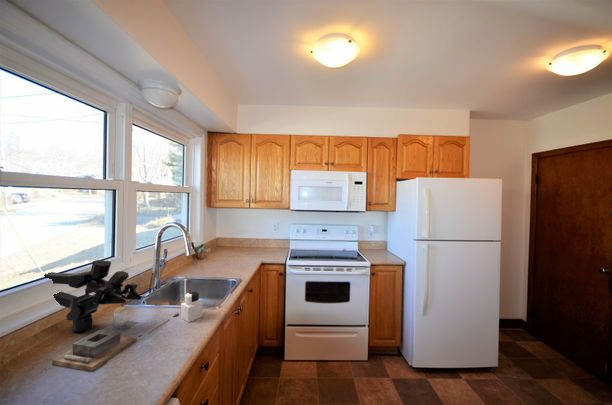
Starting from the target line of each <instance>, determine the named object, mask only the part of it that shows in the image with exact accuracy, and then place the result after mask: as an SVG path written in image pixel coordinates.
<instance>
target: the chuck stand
mask: <svg viewBox="0 0 612 405" xmlns="http://www.w3.org/2000/svg"><path fill="white" fill-rule="evenodd" d="M137 338H138V337H137ZM137 338H135V337H128V336H124V335H123V336H122V335H121V333H120V332H114V331H107V330H103V329H98V330H97V331H95V332H93V333H90V334H89V335H87V336H85V337H83V338H81V339H79V340H77V341H75V342H74V343H72V349H70V350H69V351H66V352H64V353H63V354H60V355H58V356H57V357H55V358H53V359H52V360H51V365H53V366H59V367H65V368H71V369H76V370H82V371H87V372H94V371H95V370H97V369H98V368H99V367H101V366H103V365H104V364H105V363H107V361H109V360H110V359H111V358H112V357H114V356H116V355H117V354H119V353H121V352H122V351H123V350H125V349H126V348H128V347H130V346H131V345H132V344H134V343H136V342H137Z"/></svg>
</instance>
